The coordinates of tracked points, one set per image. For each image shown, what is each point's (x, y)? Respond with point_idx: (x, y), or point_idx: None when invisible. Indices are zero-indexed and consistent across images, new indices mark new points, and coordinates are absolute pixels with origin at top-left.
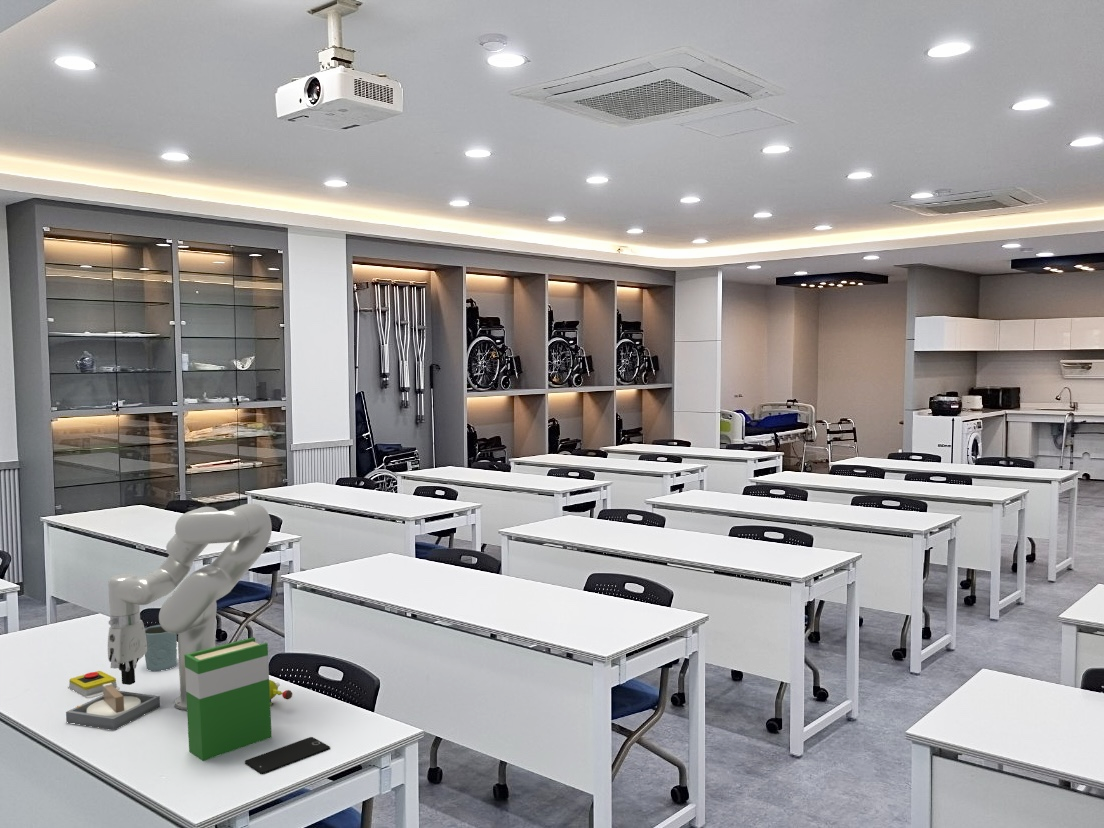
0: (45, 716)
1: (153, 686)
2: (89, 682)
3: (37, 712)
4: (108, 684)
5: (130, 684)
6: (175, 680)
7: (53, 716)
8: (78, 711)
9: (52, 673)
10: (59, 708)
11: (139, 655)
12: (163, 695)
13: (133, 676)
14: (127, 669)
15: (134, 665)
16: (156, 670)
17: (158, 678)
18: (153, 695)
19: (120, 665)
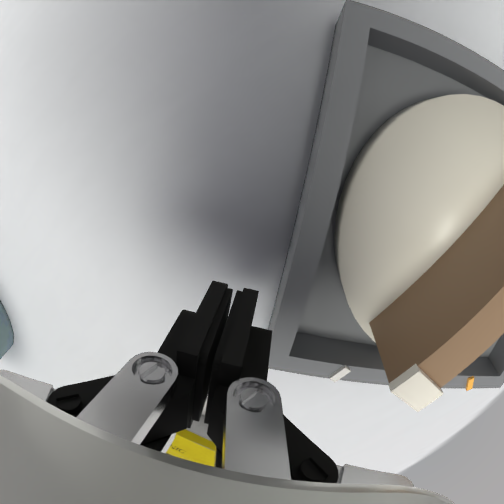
0: (406, 439)
1: (79, 244)
2: (187, 459)
3: (369, 465)
4: (424, 386)
5: (257, 292)
6: (18, 189)
7: (413, 425)
8: (475, 366)
9: None
10: (346, 445)
11: (45, 428)
12: (164, 108)
13: (215, 312)
14: (261, 400)
15: (149, 380)
16: (3, 311)
17: (27, 273)
18: (340, 44)
19: (336, 482)
